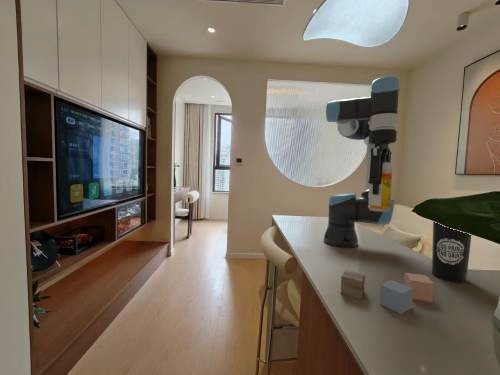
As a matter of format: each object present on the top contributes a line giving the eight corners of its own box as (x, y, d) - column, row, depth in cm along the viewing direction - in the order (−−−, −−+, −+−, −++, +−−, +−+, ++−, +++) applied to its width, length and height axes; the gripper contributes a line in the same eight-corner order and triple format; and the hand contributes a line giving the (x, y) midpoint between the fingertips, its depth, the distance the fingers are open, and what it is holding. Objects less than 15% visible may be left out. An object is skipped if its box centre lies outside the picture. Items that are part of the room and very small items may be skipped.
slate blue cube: (390, 298, 61) (391, 280, 61) (412, 308, 57) (413, 288, 57) (379, 304, 59) (380, 284, 58) (401, 314, 54) (402, 293, 54)
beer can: (393, 212, 71) (395, 162, 70) (371, 211, 72) (373, 162, 71) (385, 209, 77) (388, 163, 76) (365, 208, 78) (367, 163, 77)
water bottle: (426, 276, 75) (431, 205, 74) (430, 267, 83) (434, 202, 82) (470, 287, 68) (475, 208, 67) (470, 276, 76) (475, 205, 75)
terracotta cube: (404, 290, 66) (404, 272, 66) (425, 293, 65) (426, 275, 64) (409, 298, 62) (410, 280, 61) (432, 302, 60) (433, 283, 60)
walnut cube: (344, 286, 68) (345, 269, 67) (364, 292, 65) (364, 274, 64) (340, 294, 63) (341, 275, 63) (361, 299, 61) (361, 280, 60)
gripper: (378, 135, 83) (375, 201, 84) (359, 127, 69) (355, 205, 70) (403, 133, 77) (399, 203, 79) (388, 123, 64) (383, 208, 65)
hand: (378, 204), depth 74 cm, fingers closed on beer can, 6 cm apart
